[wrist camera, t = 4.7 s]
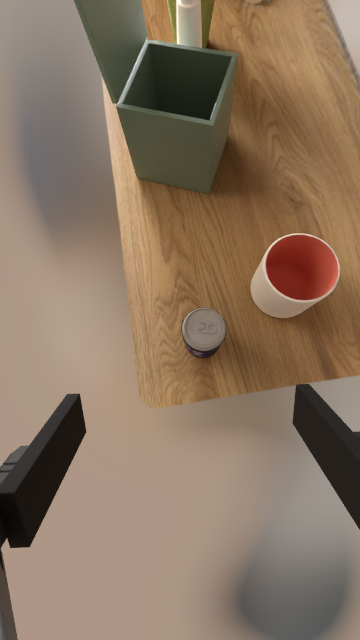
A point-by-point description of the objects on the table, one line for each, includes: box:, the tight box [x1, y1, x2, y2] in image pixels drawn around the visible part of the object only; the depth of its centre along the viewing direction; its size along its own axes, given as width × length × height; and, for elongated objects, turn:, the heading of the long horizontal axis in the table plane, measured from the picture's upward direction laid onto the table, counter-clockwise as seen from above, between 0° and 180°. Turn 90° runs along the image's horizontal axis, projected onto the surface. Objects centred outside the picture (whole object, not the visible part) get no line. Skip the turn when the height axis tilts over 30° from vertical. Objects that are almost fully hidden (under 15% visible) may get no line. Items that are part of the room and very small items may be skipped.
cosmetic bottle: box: [177, 0, 202, 48], centre depth 44 cm, size 6×6×22 cm
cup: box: [251, 233, 340, 318], centre depth 40 cm, size 10×10×10 cm
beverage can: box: [181, 308, 226, 358], centre depth 38 cm, size 6×6×12 cm
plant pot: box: [167, 0, 214, 48], centre depth 53 cm, size 12×12×11 cm
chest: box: [116, 39, 238, 194], centre depth 45 cm, size 15×14×14 cm
